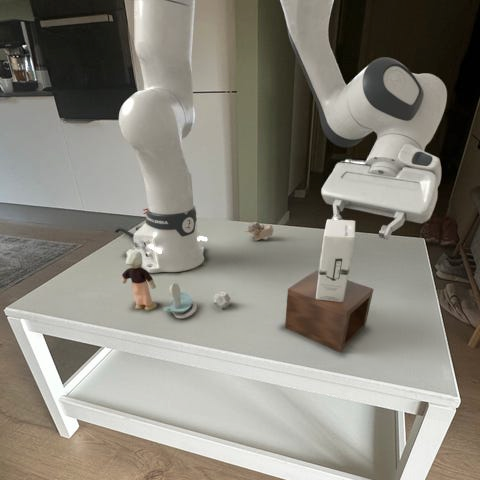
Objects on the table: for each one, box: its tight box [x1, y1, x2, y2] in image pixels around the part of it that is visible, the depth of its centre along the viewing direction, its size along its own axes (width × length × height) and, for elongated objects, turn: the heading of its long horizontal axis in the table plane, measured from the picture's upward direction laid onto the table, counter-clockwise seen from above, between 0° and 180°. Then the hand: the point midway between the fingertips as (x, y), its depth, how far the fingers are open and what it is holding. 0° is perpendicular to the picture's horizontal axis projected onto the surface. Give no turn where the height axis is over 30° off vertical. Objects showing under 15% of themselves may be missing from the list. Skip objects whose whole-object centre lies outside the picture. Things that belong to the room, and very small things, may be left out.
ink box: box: [316, 218, 356, 302], centre depth 63 cm, size 9×5×12 cm, turn 166°
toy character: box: [244, 221, 274, 241], centre depth 109 cm, size 4×8×6 cm, turn 79°
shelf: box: [284, 269, 375, 354], centre depth 69 cm, size 12×10×9 cm
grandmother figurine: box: [121, 250, 157, 311], centre depth 75 cm, size 8×4×13 cm, turn 84°
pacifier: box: [162, 282, 198, 319], centre depth 75 cm, size 7×6×6 cm
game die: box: [213, 290, 231, 310], centre depth 78 cm, size 4×4×3 cm
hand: (357, 231), depth 66 cm, fingers open, 8 cm apart
